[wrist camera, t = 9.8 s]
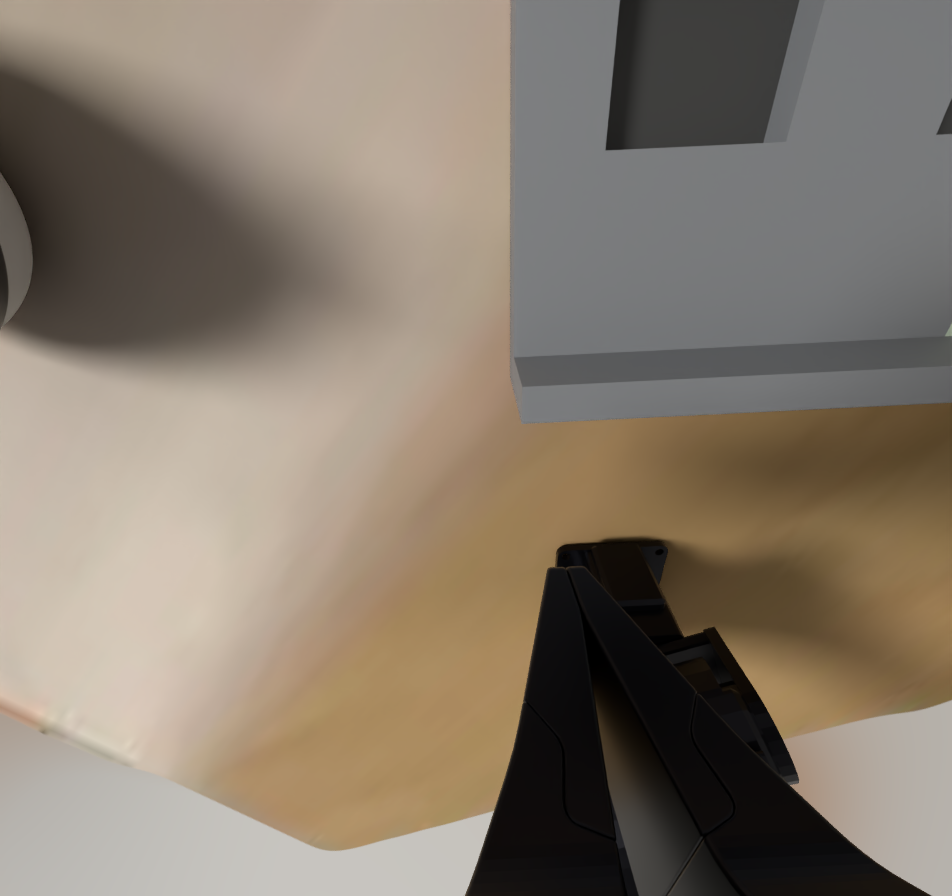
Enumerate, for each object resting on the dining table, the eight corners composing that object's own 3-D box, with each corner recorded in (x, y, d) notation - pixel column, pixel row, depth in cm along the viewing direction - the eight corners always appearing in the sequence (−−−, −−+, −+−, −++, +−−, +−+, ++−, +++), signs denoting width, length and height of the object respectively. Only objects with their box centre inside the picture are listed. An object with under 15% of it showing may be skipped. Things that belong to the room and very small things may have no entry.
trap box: (1068, 349, 20) (1210, 389, 16) (510, 377, 20) (521, 423, 16) (1470, -222, 12) (1953, -414, 8) (510, -179, 12) (534, -350, 8)
